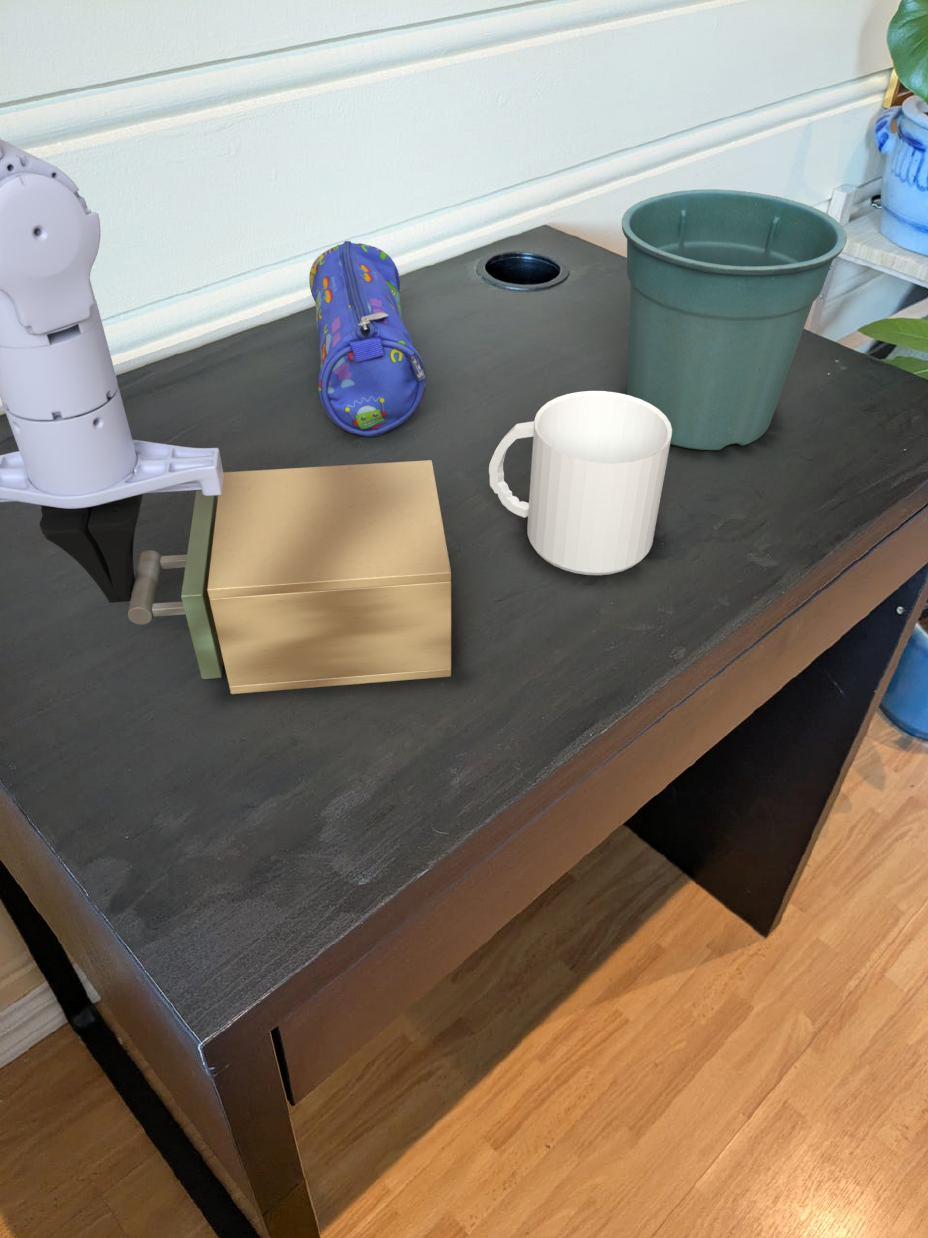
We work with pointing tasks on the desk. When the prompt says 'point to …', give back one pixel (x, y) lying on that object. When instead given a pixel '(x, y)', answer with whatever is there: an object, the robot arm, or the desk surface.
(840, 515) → the desk surface
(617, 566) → the mug
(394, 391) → the pencil case
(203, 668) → the drawer
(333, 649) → the cabinet
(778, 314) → the flower pot
